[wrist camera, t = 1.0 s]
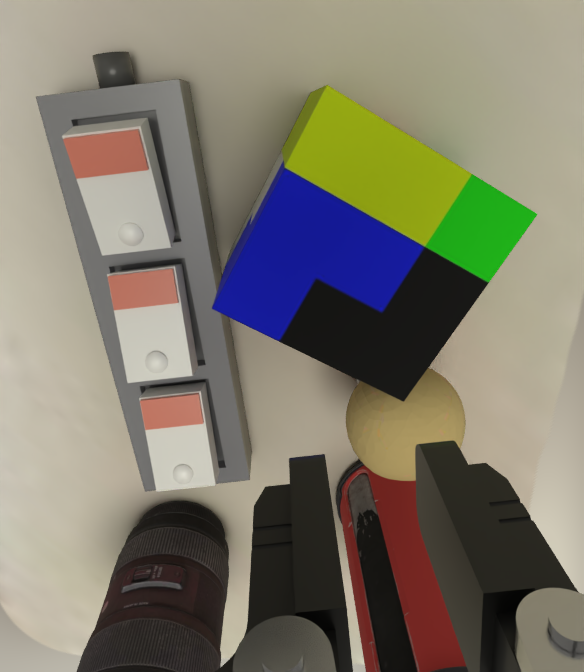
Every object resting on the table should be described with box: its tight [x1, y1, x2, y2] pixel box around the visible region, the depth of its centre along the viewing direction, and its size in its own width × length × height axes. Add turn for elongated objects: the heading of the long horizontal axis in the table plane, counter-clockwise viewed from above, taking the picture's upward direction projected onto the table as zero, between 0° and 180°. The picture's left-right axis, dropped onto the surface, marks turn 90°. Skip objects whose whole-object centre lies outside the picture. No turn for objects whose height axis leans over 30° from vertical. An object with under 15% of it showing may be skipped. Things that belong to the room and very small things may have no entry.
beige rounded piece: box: [346, 368, 465, 481], centre depth 31 cm, size 6×6×10 cm
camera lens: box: [77, 501, 229, 672], centre depth 34 cm, size 8×8×15 cm
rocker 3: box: [139, 382, 219, 492], centre depth 32 cm, size 6×4×2 cm, turn 6°
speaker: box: [336, 462, 468, 672], centre depth 31 cm, size 8×8×18 cm
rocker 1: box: [62, 118, 176, 256], centre depth 26 cm, size 6×4×2 cm, turn 7°
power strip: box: [36, 52, 252, 491], centre depth 31 cm, size 26×7×3 cm, turn 6°
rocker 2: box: [107, 264, 198, 383], centre depth 29 cm, size 6×4×2 cm, turn 6°
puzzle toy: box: [212, 85, 537, 402], centre depth 27 cm, size 10×10×10 cm
